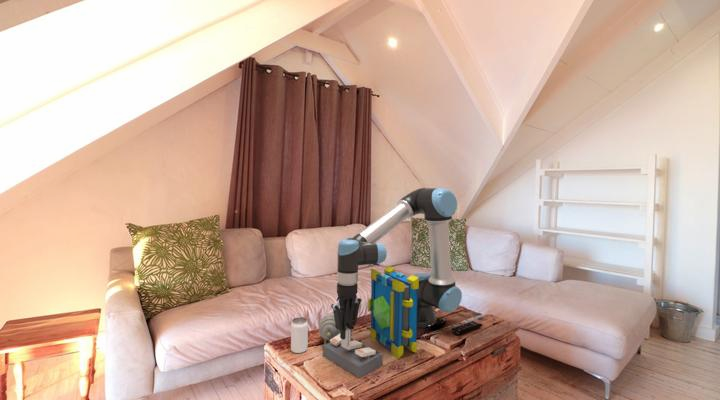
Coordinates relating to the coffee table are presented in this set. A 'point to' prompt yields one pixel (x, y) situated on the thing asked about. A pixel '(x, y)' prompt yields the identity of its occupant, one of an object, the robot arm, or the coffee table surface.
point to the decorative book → (394, 310)
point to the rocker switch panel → (352, 359)
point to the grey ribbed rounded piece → (328, 328)
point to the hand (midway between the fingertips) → (345, 346)
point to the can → (299, 335)
